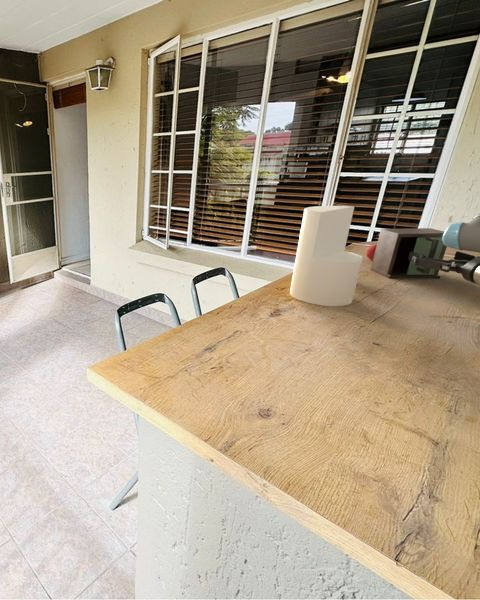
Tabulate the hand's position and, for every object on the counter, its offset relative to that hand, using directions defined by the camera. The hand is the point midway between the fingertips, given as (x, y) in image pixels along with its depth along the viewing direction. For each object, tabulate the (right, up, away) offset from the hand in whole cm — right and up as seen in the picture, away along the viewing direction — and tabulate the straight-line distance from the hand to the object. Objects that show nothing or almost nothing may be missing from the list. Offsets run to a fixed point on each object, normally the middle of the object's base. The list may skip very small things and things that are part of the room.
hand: (432, 255), depth 121 cm
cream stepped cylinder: (-43, -14, -6) cm, 46 cm away
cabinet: (0, -5, +11) cm, 13 cm away
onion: (+2, +1, +28) cm, 28 cm away
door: (0, -7, +3) cm, 8 cm away
